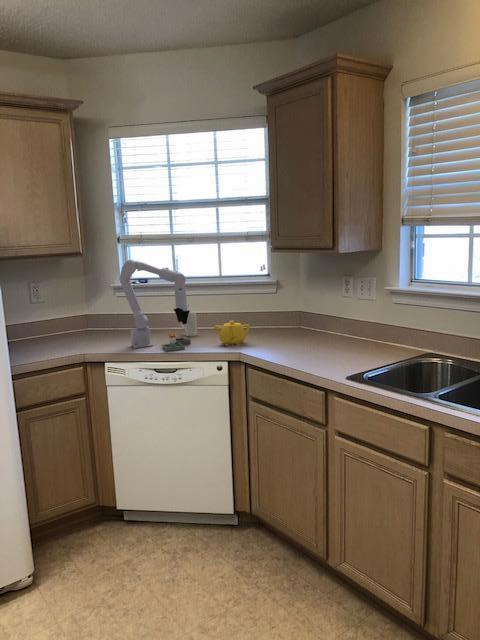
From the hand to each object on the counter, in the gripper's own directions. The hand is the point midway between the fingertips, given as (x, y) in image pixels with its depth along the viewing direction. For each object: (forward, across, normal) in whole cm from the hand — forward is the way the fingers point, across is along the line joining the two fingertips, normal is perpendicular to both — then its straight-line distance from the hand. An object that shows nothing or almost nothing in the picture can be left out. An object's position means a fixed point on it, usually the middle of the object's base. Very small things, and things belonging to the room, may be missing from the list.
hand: (182, 322), depth 280 cm
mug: (+11, +17, -8) cm, 22 cm away
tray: (+10, -11, +8) cm, 17 cm away
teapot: (+11, -19, -20) cm, 30 cm away
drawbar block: (+10, -2, +2) cm, 11 cm away
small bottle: (+10, -11, +9) cm, 17 cm away
